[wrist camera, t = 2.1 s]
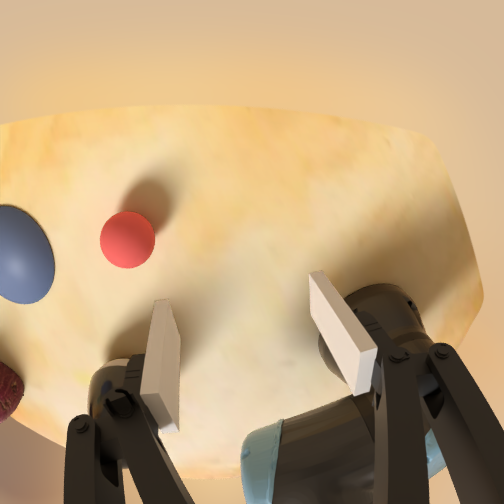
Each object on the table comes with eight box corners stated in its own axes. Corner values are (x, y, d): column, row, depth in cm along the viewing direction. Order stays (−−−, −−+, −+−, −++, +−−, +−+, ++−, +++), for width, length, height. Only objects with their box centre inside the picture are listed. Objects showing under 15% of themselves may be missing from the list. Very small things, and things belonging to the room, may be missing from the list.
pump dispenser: (81, 357, 37) (53, 446, 24) (142, 337, 37) (127, 437, 24) (120, 402, 42) (108, 486, 28) (178, 387, 42) (179, 479, 28)
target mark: (34, 193, 28) (33, 194, 28) (69, 296, 33) (68, 297, 33) (-37, 219, 27) (-38, 220, 27) (-2, 307, 32) (-3, 308, 32)
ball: (151, 200, 31) (142, 216, 26) (163, 249, 33) (157, 273, 28) (102, 210, 30) (86, 228, 25) (115, 258, 33) (103, 282, 28)
